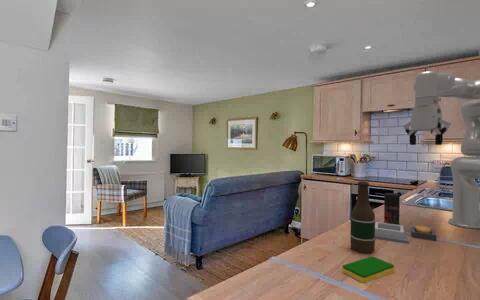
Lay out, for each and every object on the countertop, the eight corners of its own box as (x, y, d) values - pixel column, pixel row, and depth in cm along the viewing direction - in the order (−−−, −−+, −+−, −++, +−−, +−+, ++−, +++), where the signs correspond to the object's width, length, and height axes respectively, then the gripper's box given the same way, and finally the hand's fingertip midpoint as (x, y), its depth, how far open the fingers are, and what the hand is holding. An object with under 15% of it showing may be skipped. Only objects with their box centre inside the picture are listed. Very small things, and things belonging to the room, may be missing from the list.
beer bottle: (373, 247, 96) (373, 180, 95) (376, 255, 88) (377, 183, 88) (349, 244, 98) (350, 179, 98) (351, 252, 91) (351, 182, 90)
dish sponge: (341, 273, 77) (341, 265, 77) (372, 263, 83) (372, 255, 83) (363, 284, 71) (363, 275, 71) (394, 273, 77) (394, 264, 77)
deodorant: (401, 229, 116) (401, 195, 116) (386, 228, 117) (387, 195, 117) (396, 225, 122) (396, 193, 121) (382, 224, 123) (382, 192, 122)
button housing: (410, 231, 113) (410, 226, 113) (433, 234, 109) (433, 229, 109) (411, 237, 106) (411, 231, 106) (436, 240, 102) (436, 235, 102)
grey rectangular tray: (372, 228, 118) (372, 220, 118) (406, 233, 111) (406, 224, 111) (369, 237, 106) (370, 228, 106) (408, 243, 99) (408, 234, 99)
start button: (414, 229, 111) (415, 225, 111) (429, 231, 109) (429, 226, 109) (415, 233, 107) (416, 228, 107) (431, 235, 104) (431, 230, 104)
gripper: (455, 100, 102) (454, 144, 103) (409, 106, 118) (409, 144, 118) (445, 98, 99) (444, 144, 99) (399, 105, 114) (398, 144, 115)
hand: (425, 144), depth 109 cm, fingers open, 9 cm apart
